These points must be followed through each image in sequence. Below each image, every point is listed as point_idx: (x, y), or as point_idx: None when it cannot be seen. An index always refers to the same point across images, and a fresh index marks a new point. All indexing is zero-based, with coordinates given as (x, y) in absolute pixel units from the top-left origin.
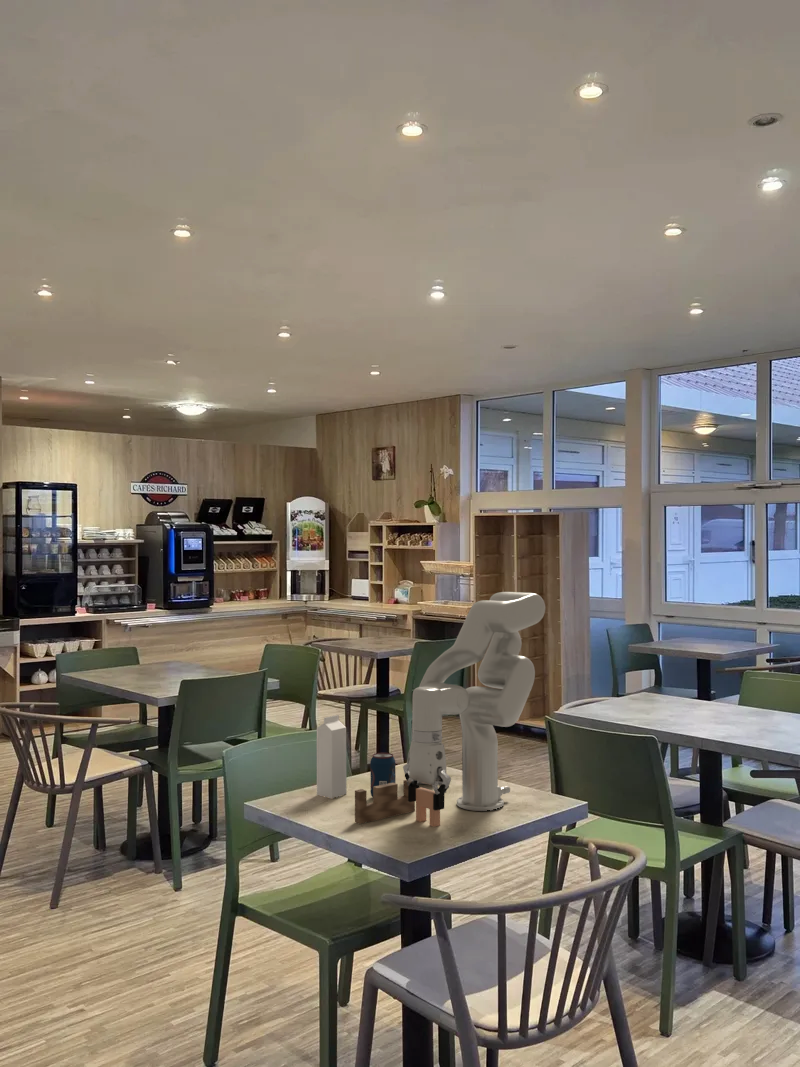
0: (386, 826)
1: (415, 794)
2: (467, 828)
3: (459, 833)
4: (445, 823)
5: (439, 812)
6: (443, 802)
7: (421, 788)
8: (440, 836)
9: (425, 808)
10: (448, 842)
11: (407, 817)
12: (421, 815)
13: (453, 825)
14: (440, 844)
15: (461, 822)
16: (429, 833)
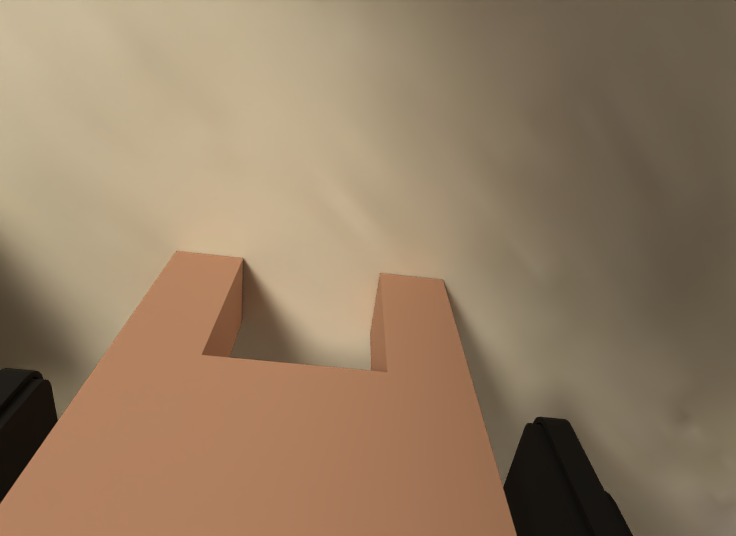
0: None
1: (3, 495)
2: (719, 181)
3: (707, 327)
4: (446, 206)
5: (461, 359)
6: (624, 528)
7: None
8: (605, 448)
9: (215, 337)
10: (714, 489)
11: (54, 304)
12: (229, 342)
13: (549, 201)
14: (682, 531)
15: (568, 60)
16: (500, 451)
